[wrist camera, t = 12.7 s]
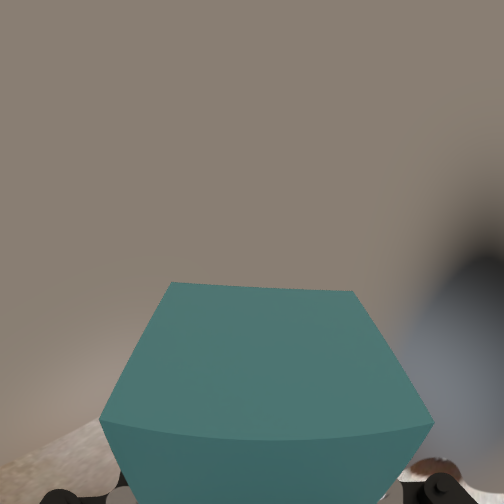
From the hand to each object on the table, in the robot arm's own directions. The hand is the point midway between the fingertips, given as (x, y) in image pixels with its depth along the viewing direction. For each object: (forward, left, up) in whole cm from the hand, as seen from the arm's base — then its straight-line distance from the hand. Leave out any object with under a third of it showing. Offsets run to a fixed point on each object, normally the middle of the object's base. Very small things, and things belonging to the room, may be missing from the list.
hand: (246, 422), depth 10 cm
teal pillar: (0, -3, -6) cm, 7 cm away
